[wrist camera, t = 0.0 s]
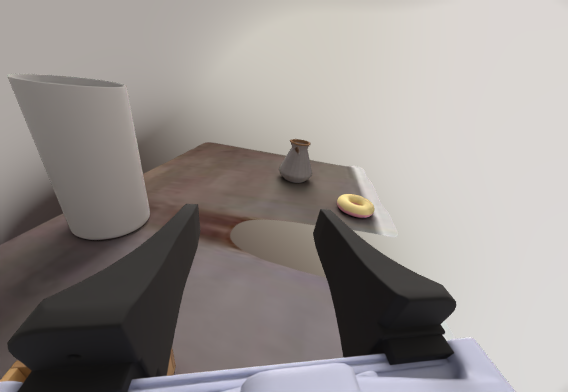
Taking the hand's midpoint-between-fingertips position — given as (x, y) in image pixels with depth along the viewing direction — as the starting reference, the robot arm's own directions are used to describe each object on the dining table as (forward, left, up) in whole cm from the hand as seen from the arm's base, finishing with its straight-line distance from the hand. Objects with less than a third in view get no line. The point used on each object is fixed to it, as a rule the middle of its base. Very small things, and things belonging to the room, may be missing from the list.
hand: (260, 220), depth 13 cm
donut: (+37, -30, -22) cm, 52 cm away
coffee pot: (+52, -15, -22) cm, 58 cm away
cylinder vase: (+29, +26, -22) cm, 45 cm away
